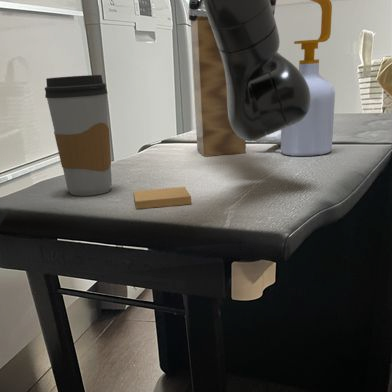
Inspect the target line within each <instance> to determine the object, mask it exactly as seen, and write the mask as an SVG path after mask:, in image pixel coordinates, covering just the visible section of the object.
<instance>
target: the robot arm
mask: <svg viewBox="0 0 392 392" xmlns="http://www.w3.org/2000/svg"><path fill="white" fill-rule="evenodd" d="M276 3H277V0H189V2H188V20H189V21H190V22H191V21H195V20H197V17H200V16H202V17H206V19H207V21H208V22H210V25H211V28H212V31H213V34H214V37H215V40H216V42H217V47H218V50H219V51H220V54H221V58H222V61H223V65H224V70H225V77H226V87H227V109H228V117H229V121H230V125H231V127H232V129H233V131H234V132H235V134H236V135H237V136H238V137H240V138H241V139H243V140H245V141H246V142H255V140H258V139H260V138H263V137H265V136H268V135H269V134H272V133H274V132H277V131H279V130H281V129H284V128H286V127H289V126H291V125H293V124H296V123H298V122H299V121H301V120H302V119H303V118H304V117H305V116H306V114H307V112H308V110H309V107H310V101H311V96H310V90H309V87H308V84H307V82H306V80H305V78H304V77H303V75H302V74H301V72H300V71H299V68H297V67H296V65H295V64H293V63H292V62H291V61H290V60H289V59H287V58H285V56H283V55H282V54H281V53H279V52H278V51H279V48H280V44H281V43H280V33H279V30H278V27H277V22H276V19H275V12H276Z"/></svg>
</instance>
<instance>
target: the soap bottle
mask: <svg viewBox="0 0 392 392" xmlns="http://www.w3.org/2000/svg"><path fill="white" fill-rule="evenodd" d="M310 1H311V2H314V3H317V4H318V5H319V6H320V8H321V9H320V10H321V19H320V20H321V21H320V22H321V24H320V35H319V37H318V39H307V40H305V39H304V40H295V41H293V44H294V45H300V44H301V45H300V50H302V51H303V50H304V51H303V52H304V53H303V54H304V56H303V60H299V62H298V70H299V71H300V72H301V74H302V75H303V77H304V78H305V80H306V82H307V84H308V87H309V90H310V96H311V101H310V107H309V110H308V112H307V114H306V116H305V117H304V118H303V119H302V120H301V121H299V122H298V123H296V124H293V125H291V126H289V127H286V128H284V129H281V145H280V152H281V154H283V155H285V156H289V155H290V157H313V156H314V157H315V156H321V155H326V154H328V153H330V152H332V150H333V137H334V119H335V101H336V100H335V99H336V91H335V88H334V86H333V84H331V83H330V81H328V80H327V79H326V78H324V77H323V76H321V75H320V72H319V71H320V58H319V59H318V58H317V59H315V49H316V50H318V49H319V43H324V42H327V41H328V40H329V39H330V37H331V34H332V14H333V13H332V12H333V11H332V10H333V3H332V1H331V0H310Z"/></svg>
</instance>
